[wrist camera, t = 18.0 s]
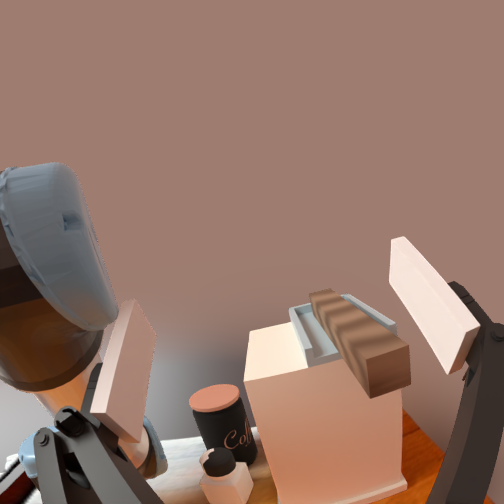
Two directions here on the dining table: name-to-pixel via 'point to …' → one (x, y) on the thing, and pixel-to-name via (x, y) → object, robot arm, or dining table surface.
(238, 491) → the medicine bottle
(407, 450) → the dining table surface
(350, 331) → the walnut bar
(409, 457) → the dining table surface
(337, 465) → the plinth
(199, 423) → the coffee jar
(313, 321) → the tray
